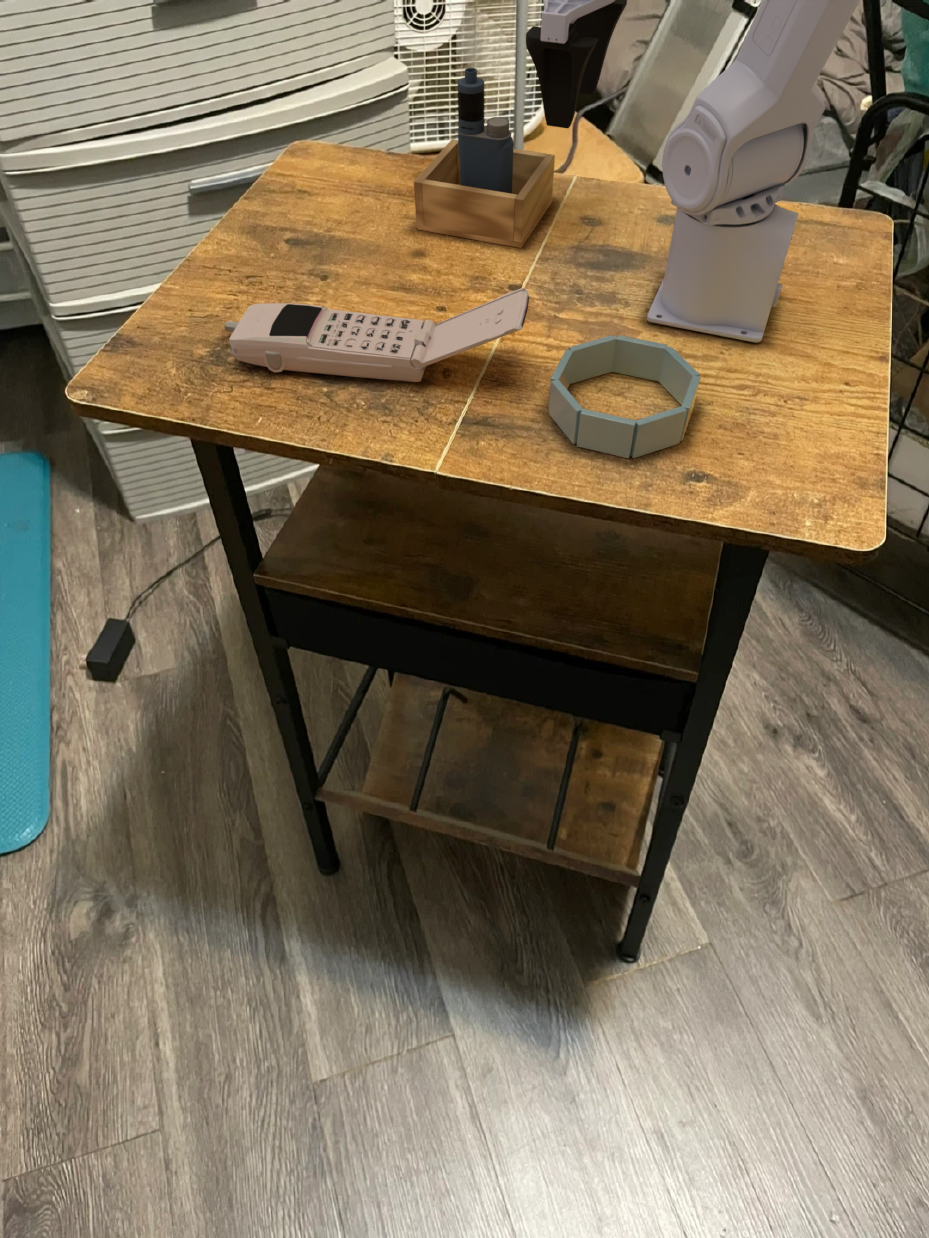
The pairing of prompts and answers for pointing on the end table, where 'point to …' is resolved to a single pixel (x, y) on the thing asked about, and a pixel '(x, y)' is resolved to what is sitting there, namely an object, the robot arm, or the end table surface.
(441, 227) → the holder
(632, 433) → the octagonal ring
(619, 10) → the robot arm
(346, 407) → the end table surface
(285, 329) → the mobile phone
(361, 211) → the end table surface
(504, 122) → the vaping device
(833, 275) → the end table surface
